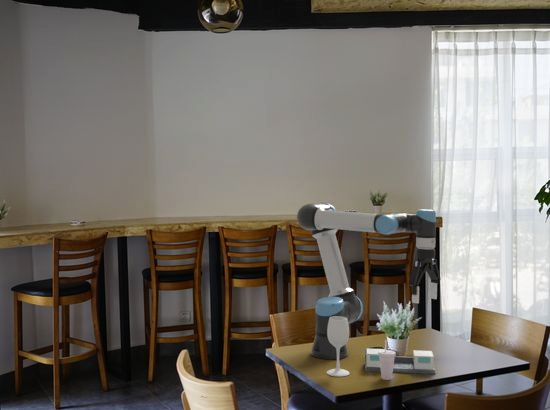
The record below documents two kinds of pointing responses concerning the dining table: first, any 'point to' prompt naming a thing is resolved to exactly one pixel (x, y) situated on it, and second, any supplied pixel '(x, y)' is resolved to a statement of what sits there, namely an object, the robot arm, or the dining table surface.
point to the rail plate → (402, 366)
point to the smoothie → (386, 362)
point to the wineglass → (338, 340)
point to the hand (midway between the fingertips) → (424, 300)
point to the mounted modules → (419, 359)
